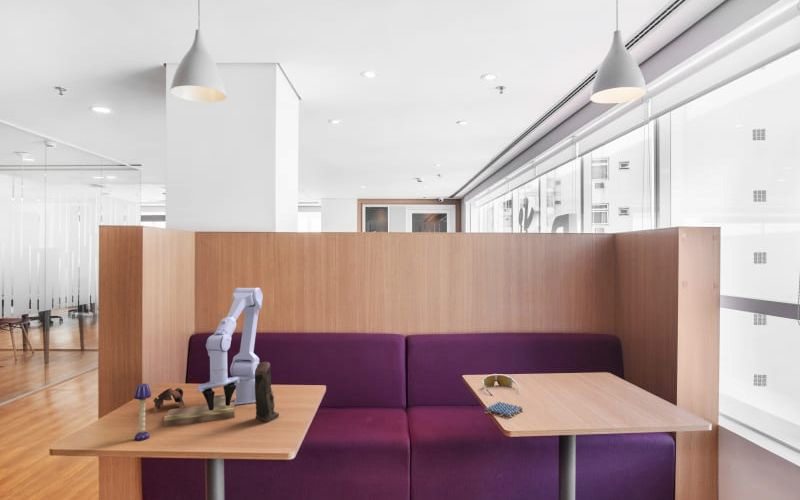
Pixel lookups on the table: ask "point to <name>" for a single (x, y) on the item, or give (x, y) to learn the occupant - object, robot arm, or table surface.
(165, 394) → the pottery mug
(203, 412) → the walnut board
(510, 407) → the woven mat
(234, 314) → the robot arm
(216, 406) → the wooden mallet
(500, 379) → the sunglasses
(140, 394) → the toy lamp
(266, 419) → the statue
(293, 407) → the table surface
